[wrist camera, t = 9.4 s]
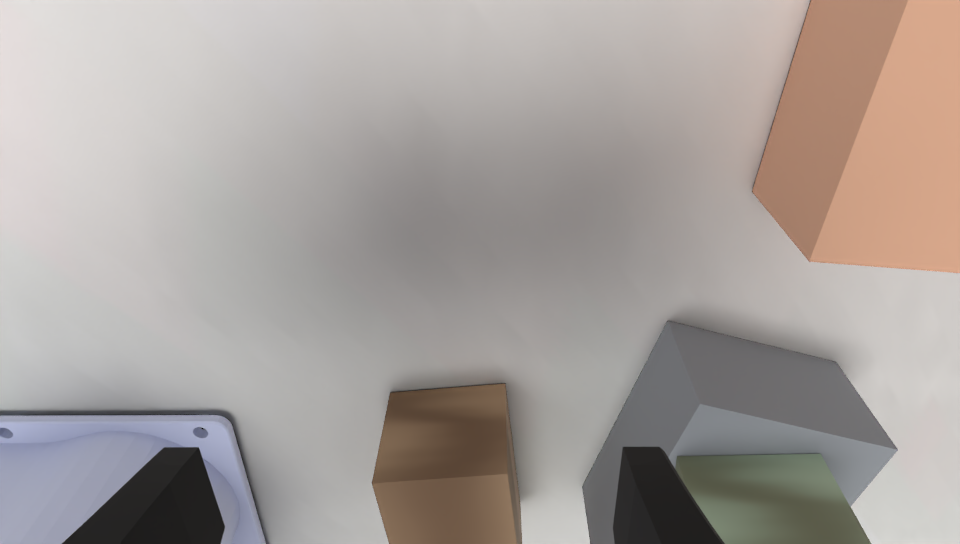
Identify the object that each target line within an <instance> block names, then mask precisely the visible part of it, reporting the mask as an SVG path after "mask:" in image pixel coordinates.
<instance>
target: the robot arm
mask: <svg viewBox="0 0 960 544" xmlns="http://www.w3.org/2000/svg"><path fill="white" fill-rule="evenodd" d="M199 427H201V428H204V429H206V430H203V429H201V428H199ZM613 534H614V542H615V544H725V543H724V542H723V540H722V539H721V538H720V536H719V535H718V534H717V532H716V531H715V529H714V528H713V526H712V525H711V524H710V522H709V521H708V519H707V518H706V516H705V515H704V513H703V512H702V510H701V509H700V507H699V506H698V504H697V503H696V501H695V500H694V498H693V497H692V495H691V494H690V492H689V490H688V489H687V487H686V486H685V484H684V483H683V481H682V479H681V478H680V476H679V475H678V473H677V471H676V470H675V468H674V466H673V465H672V463H671V461H670V460H669V458H668V456H667V454H666V453H665V451H664V450H663V449H661V448H660V447H623V448H622V457H621V465H620V473H619V481H618V489H617V497H616V505H615V514H614V522H613ZM0 544H266V542H265V538H264V535H263V531H262V528H261V524H260V521H259V517H258V514H257V510H256V507H255V503H254V500H253V497H252V493H251V490H250V486H249V483H248V479H247V476H246V472H245V469H244V465H243V462H242V458H241V455H240V451H239V448H238V444H237V441H236V437H235V434H234V430H233V427H232V424H231V423H230V421H229V420H227V419H226V418H225V417H222V416H218V415H61V416H0Z"/></svg>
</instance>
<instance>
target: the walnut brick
mask: <svg viewBox="0 0 960 544" xmlns="http://www.w3.org/2000/svg"><path fill="white" fill-rule="evenodd" d="M372 485H373V489H374V492H375V496H376V499H377V503H378V506H379V510H380V513H381V517H382V520H383V524H384V527H385V531H386V534H387V538H388V541H389V544H522V532H521V509H520V497H519V489H518V481H517V473H516V465H515V457H514V449H513V441H512V433H511V425H510V417H509V409H508V401H507V393H506V385H505V384H493V385H480V386H468V387H455V388H443V389H430V390H417V391H405V392H392V393H390V396H389V401H388V406H387V411H386V416H385V421H384V426H383V431H382V436H381V441H380V446H379V451H378V456H377V461H376V466H375V471H374V476H373V481H372Z"/></svg>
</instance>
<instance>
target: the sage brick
mask: <svg viewBox="0 0 960 544" xmlns="http://www.w3.org/2000/svg"><path fill="white" fill-rule="evenodd" d="M675 470H676V471H677V473H678V475H679V476H680V478H681V479H682V481H683V483H684V484H685V486H686V487H687V489H688V490H689V492H690V494H691V495H692V497H693V498H694V500H695V501H696V503H697V504H698V506H699V507H700V509H701V510H702V512H703V513H704V515H705V516H706V518H707V519H708V521H709V522H710V524H711V525H712V526H713V528H714V529H715V531H716V532H717V534H718V535H719V536H720V538H721V539H722V540H723V542H724V543H725V544H871V543H870V541H869V539H868V537H867V535H866V534H865V532H864V530H863V528H862V527H861V525H860V523H859V521H858V519H857V518H856V516H855V514H854V512H853V511H852V509H851V507H850V505H849V503H848V502H847V500H846V498H845V496H844V495H843V493H842V491H841V489H840V487H839V486H838V484H837V482H836V480H835V479H834V477H833V475H832V473H831V471H830V470H829V468H828V466H827V464H826V463H825V461H824V459H823V457H822V455H821V454H778V455H721V456H677V460H676V467H675Z"/></svg>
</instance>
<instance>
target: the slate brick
mask: <svg viewBox="0 0 960 544" xmlns="http://www.w3.org/2000/svg"><path fill="white" fill-rule="evenodd" d="M623 447H660V448H661V449H663V450H664V451H665V453H666V454H667V456H668V458H669V460H670V461H671V463H672V465H673V466H674V468H675V467H676V460H677V456H721V455H778V454H821V455H822V457H823V459H824V461H825V463H826V464H827V466H828V468H829V470H830V471H831V473H832V475H833V477H834V479H835V480H836V482H837V484H838V486H839V487H840V489H841V491H842V493H843V495H844V496H845V498H846V500H847V502H848V503H849V505H850V507H851V505H852V504H853V503H854V502H855V501H856V499H857V498H858V497H859V496H860V495H861V493H862V492H863V491H864V490H865V489H866V487H867V486H868V485H869V484H870V483H871V481H872V480H873V479H874V478H875V477H876V475H877V474H878V473H879V472H880V471H881V469H882V468H883V467H884V466H885V465H886V463H887V462H888V461H889V460H890V459H891V458H892V456H893V455H894V454H895V453H896V452H897V450H898V449H897V448H896V446H895V445H894V444H893V442H892V441H891V439H890V438H889V436H888V435H887V434H886V432H885V431H884V429H883V428H882V426H881V425H880V424H879V422H878V421H877V419H876V418H875V417H874V415H873V414H872V412H871V411H870V409H869V408H868V407H867V405H866V404H865V402H864V401H863V400H862V398H861V397H860V395H859V394H858V392H857V391H856V390H855V388H854V387H853V385H852V384H851V382H850V381H849V380H848V378H847V377H846V375H845V374H844V373H843V371H842V370H841V368H840V367H839V365H838V364H837V363H836V362H834V361H830V360H826V359H822V358H818V357H814V356H810V355H806V354H802V353H797V352H793V351H789V350H785V349H781V348H777V347H773V346H769V345H765V344H761V343H757V342H753V341H749V340H745V339H740V338H736V337H732V336H728V335H724V334H720V333H716V332H712V331H708V330H704V329H700V328H696V327H692V326H688V325H684V324H679V323H675V322H671V321H667V323H666V325H665V327H664V329H663V331H662V333H661V335H660V336H659V338H658V340H657V342H656V344H655V346H654V348H653V350H652V352H651V354H650V356H649V358H648V360H647V362H646V364H645V366H644V368H643V369H642V371H641V373H640V375H639V377H638V379H637V381H636V383H635V385H634V387H633V389H632V391H631V393H630V395H629V397H628V399H627V401H626V402H625V404H624V406H623V408H622V410H621V412H620V414H619V416H618V418H617V420H616V422H615V424H614V426H613V428H612V430H611V432H610V434H609V435H608V437H607V439H606V441H605V443H604V445H603V447H602V449H601V451H600V453H599V455H598V457H597V459H596V461H595V463H594V465H593V467H592V468H591V470H590V472H589V474H588V476H587V478H586V480H585V482H584V484H583V486H582V488H583V495H584V502H585V509H586V516H587V523H588V530H589V537H590V544H615V542H614V534H613V522H614V514H615V505H616V497H617V489H618V481H619V473H620V465H621V457H622V448H623Z"/></svg>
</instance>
